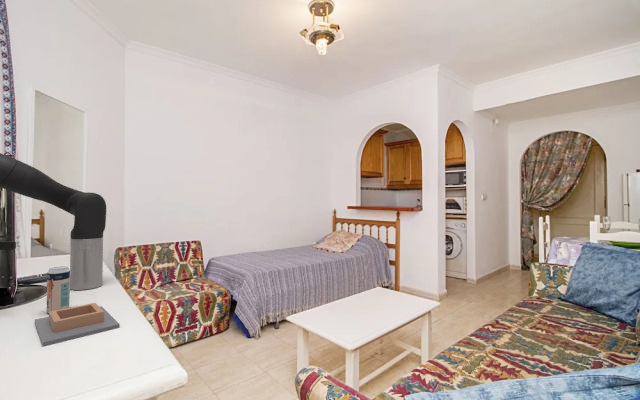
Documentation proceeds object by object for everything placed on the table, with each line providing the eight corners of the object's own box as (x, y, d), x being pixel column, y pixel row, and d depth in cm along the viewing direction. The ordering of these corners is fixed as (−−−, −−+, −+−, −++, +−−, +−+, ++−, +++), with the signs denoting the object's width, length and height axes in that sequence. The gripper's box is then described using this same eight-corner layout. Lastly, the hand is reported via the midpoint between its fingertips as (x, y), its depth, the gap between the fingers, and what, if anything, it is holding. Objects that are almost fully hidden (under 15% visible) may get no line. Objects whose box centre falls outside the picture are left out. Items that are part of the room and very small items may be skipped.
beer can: (50, 309, 87) (51, 266, 87) (71, 307, 89) (72, 265, 89) (43, 315, 83) (44, 270, 83) (65, 313, 85) (66, 269, 85)
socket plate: (34, 322, 78) (34, 309, 78) (101, 309, 88) (101, 297, 88) (42, 346, 66) (42, 330, 66) (119, 327, 76) (119, 313, 76)
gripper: (-106, 237, 71) (-16, 236, 76) (-52, 231, 85) (22, 231, 89) (-107, 270, 71) (-17, 267, 76) (-53, 259, 85) (21, 257, 89)
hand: (4, 247), depth 82 cm, fingers open, 8 cm apart
